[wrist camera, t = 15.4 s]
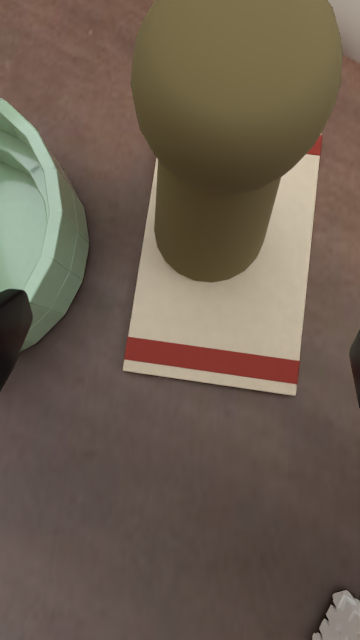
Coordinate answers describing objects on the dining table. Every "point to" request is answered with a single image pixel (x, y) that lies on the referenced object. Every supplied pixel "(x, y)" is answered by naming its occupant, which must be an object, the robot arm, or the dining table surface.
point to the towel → (230, 303)
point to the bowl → (38, 224)
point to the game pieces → (341, 619)
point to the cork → (229, 118)
